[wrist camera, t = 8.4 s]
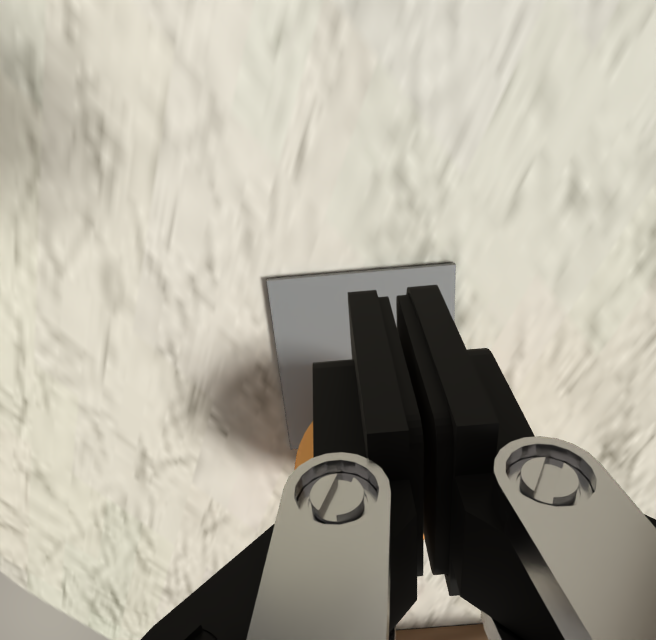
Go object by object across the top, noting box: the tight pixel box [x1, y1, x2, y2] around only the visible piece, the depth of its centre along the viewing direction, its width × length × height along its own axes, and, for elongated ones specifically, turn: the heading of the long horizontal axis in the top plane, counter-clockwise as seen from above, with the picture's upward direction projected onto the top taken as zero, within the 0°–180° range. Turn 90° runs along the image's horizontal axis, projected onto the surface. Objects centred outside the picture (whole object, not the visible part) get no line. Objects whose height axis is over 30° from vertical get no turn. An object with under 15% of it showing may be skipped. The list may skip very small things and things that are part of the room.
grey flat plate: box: [267, 263, 456, 449], centre depth 23 cm, size 8×7×1 cm
